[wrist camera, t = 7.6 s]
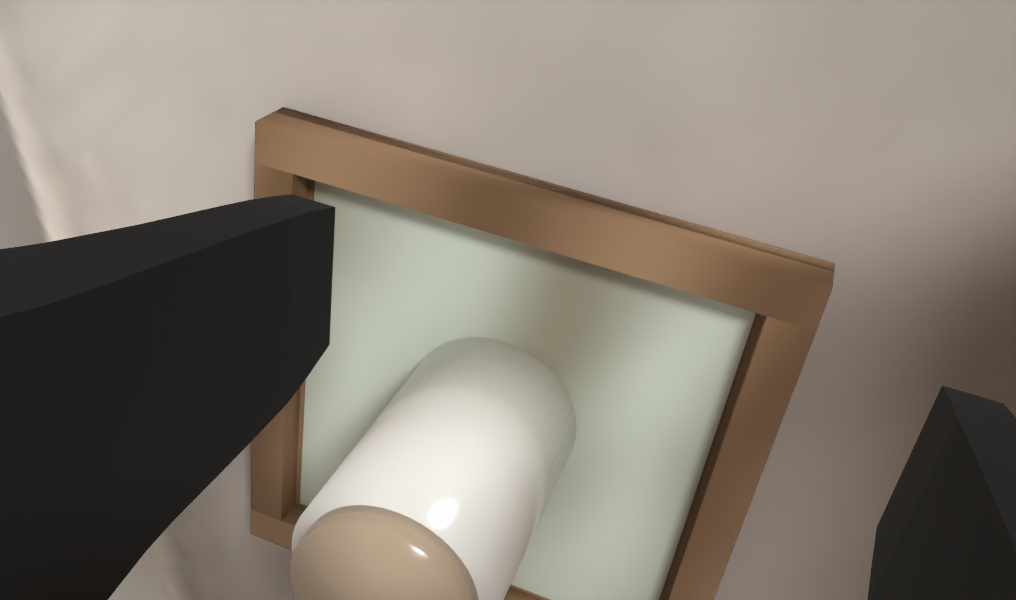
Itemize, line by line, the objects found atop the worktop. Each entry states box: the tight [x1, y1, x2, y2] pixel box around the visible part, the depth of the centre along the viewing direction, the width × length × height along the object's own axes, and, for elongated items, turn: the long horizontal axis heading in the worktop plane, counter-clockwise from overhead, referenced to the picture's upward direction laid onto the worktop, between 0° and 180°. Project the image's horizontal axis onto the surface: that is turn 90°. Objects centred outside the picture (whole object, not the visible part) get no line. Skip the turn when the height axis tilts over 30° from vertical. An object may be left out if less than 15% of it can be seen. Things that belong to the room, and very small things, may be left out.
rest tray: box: [251, 107, 835, 600], centre depth 24 cm, size 13×13×1 cm
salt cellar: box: [289, 337, 576, 600], centre depth 21 cm, size 4×4×7 cm
